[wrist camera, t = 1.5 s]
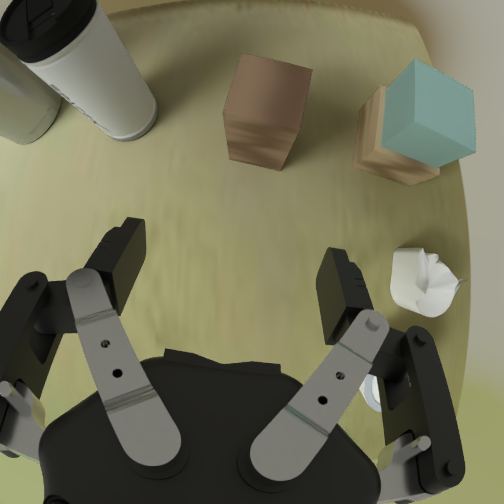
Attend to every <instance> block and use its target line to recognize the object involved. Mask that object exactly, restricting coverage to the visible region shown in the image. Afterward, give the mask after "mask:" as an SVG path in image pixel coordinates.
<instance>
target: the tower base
mask: <svg viewBox="0 0 504 504" xmlns="http://www.w3.org/2000/svg"><path fill="white" fill-rule="evenodd" d="M387 88H388V87H385V86H383V85H380V86H379V88H378V89H377V90H376V91H375V92H374V94H373V95H372V96H371V97H370V98H369V99H368V101H367V102H366V103H365V104H364V105H363V107H362V108H361V109H360V114H359V122H358V129H357V136H356V143H355V150H354V156H353V162H352V167H354V168H357V169H360V170H363V171H366V172H369V173H372V174H375V175H378V176H381V177H384V178H387V179H389V180H392V181H395V182H398V183H401V184H403V185H406V186H409V187H410V186H413V185H415V184H418V183H421V182H424V181H426V180H429V179H432V178H434V177H437V176H439V174H440V167H438V168H434V167H432V166H429V165H427V164H425V163H422V162H420V161H417V160H415V159H412V158H410V157H407V156H405V155H402V154H400V153H397V152H395V151H392V150H389V149H387V148H384V147H381V137H382V128H383V117H384V106H385V92H386V89H387Z"/></svg>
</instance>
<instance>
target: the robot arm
mask: <svg viewBox="0 0 504 504" xmlns="http://www.w3.org/2000/svg"><path fill="white" fill-rule="evenodd" d="M61 100H62V96H61V95H60V94H59V93H58V92H57V91H55V90H54V89H53V88H52V87H51V86H49V85H48V84H47V83H46V82H45V81H43V80H42V79H41V78H40V77H39V76H38V75H36V74H35V73H34V72H33V71H32V70H30V69H29V68H28V67H27V66H26V65H25V64H23V63H22V62H21V61H20V59H19V58H18V57H17V56H16V55H15V54H13V53H12V52H11V51H9V50H8V49H7V48H6V47H5V46H4V45H2V44H1V42H0V136H2V137H5V138H7V139H9V140H11V141H13V142H15V143H17V144H22V145H23V144H28V143H31V142H33V141H35V140H36V139H38V138H39V137H40V136H41V135H43V134H44V133H45V132H46V130H47V129H48V128H49V127H50V126H51V124H52V123H53V121H54V119H55V117H56V115H57V114H58V111H59V108H60V105H61ZM145 256H146V230H145V220H144V219H139V218H132V217H127V218H126V220H125V221H124V223H123V224H122V226H121V227H114V228H112V229H111V230H110V231H108V232H107V233H106V234H105V235H104V237H103V238H102V240H101V242H100V243H99V244H98V246H97V248H96V249H95V250H94V252H93V254H92V255H91V257H90V258H89V260H88V261H87V263H86V264H85V266H84V268H81V269H78V270H76V271H74V272H72V273H71V274H70V275H69V276H68V278H67V280H63V281H49V282H48V279H47V277H46V275H45V274H44V273H42V272H38V271H34V272H30V273H27V274H25V275H24V276H23V277H21V278H20V280H19V281H18V283H17V284H16V286H15V287H14V289H13V291H12V292H11V294H10V296H9V297H8V299H7V301H6V302H5V304H4V306H3V308H2V309H1V311H0V452H2V453H3V454H5V455H6V456H8V457H11V458H17V457H19V456H22V457H24V458H26V459H29V460H31V461H33V462H36V463H38V464H40V466H41V470H42V475H43V481H44V501H43V504H382V503H389V502H395V503H397V504H408V503H412V502H415V501H420V500H423V499H426V498H429V497H432V496H434V495H437V494H439V493H441V492H442V491H444V490H447V489H449V488H452V487H454V486H456V485H458V484H459V483H460V482H461V481H462V479H463V477H464V474H465V461H464V456H463V450H462V444H461V439H460V435H459V430H458V425H457V421H456V416H455V412H454V408H453V404H452V400H451V396H450V392H449V389H448V385H447V381H446V378H445V374H444V371H443V368H442V364H441V361H440V358H439V355H438V352H437V349H436V346H435V343H434V340H433V338H432V336H431V334H430V333H429V332H428V331H427V330H425V329H424V328H422V327H419V326H412V327H410V328H409V329H408V330H407V331H406V333H404V332H401V331H398V330H396V329H393V328H390V327H389V323H388V321H387V320H386V318H385V317H384V316H383V315H382V314H380V313H379V312H377V311H374V308H373V305H372V302H371V299H370V296H369V293H368V290H367V288H366V284H365V281H364V278H363V275H362V273H361V270H360V269H359V268H358V267H357V265H356V264H355V263H354V262H349V259H348V256H347V253H346V251H345V250H343V249H337V248H331V247H329V248H328V249H327V250H326V253H325V255H324V258H323V261H322V263H321V266H320V268H319V271H318V274H317V278H316V290H317V296H318V302H319V308H320V314H321V320H322V326H323V333H324V339H325V345H334V347H333V348H332V350H331V351H330V352H329V354H328V355H327V356H326V358H325V359H324V360H323V362H322V363H321V364H320V365H319V367H318V368H317V369H316V370H315V372H314V373H313V374H312V375H311V377H310V378H309V379H308V380H307V382H306V383H305V384H304V385H303V384H302V383H300V382H299V381H297V380H296V379H294V378H292V377H291V376H288V375H286V374H284V373H281V366H280V364H273V363H263V362H254V361H251V362H242V363H231V364H220V363H218V362H215V361H212V360H210V359H207V358H204V357H202V356H199V355H197V354H194V353H189V352H183V351H177V350H172V349H166V348H165V352H164V356H162V357H153V358H149V359H145V360H143V361H140V362H139V360H138V358H137V356H136V354H135V352H134V350H133V348H132V346H131V344H130V341H129V339H128V337H127V335H126V333H125V331H124V328H123V326H122V324H121V322H120V319H119V317H118V316H121V313H122V311H123V308H124V306H125V304H126V301H127V299H128V297H129V294H130V292H131V290H132V287H133V285H134V283H135V280H136V278H137V276H138V274H139V272H140V269H141V267H142V265H143V263H144V260H145ZM64 333H78V335H79V338H80V341H81V345H82V348H83V351H84V354H85V357H86V360H87V363H88V365H89V368H90V371H91V374H92V376H93V379H94V382H95V384H96V387H97V389H98V390H97V391H96V392H95V393H93V394H92V395H90V396H89V397H87V398H86V399H85V400H83V401H82V402H80V403H79V404H77V405H76V406H74V407H73V408H72V409H70V410H69V411H67V412H66V413H64V414H63V415H61V416H60V417H58V418H57V419H56V420H54V421H53V422H51V423H50V424H49V425H48V426H47V427H46V428H45V423H44V421H45V409H44V406H43V405H42V403H41V402H40V401H39V400H40V397H41V393H42V390H43V387H44V384H45V382H46V379H47V376H48V373H49V370H50V367H51V365H52V362H53V359H54V357H55V354H56V351H57V349H58V346H59V344H60V341H61V339H62V336H63V334H64ZM367 374H370V375H373V376H376V378H377V384H378V391H379V397H380V404H381V412H382V419H383V427H384V436H385V445H386V446H385V447H384V448H383V449H382V450H381V452H380V453H379V456H378V463H377V468H376V466H375V464H374V463H373V462H372V461H371V460H370V458H369V457H368V456H367V455H366V454H365V453H364V452H363V451H362V450H361V449H360V448H359V447H358V446H357V444H356V443H355V442H354V441H353V440H352V439H351V438H350V437H349V436H348V435H347V433H346V432H345V431H344V430H343V429H342V428H341V427H340V426H339V424H338V423H337V422H338V421H339V419H340V418H341V416H342V415H343V413H344V412H345V410H346V408H347V407H348V405H349V404H350V402H351V401H352V399H353V397H354V396H355V394H356V393H357V391H358V389H359V388H360V386H361V384H362V383H363V381H364V379H365V378H366V376H367ZM408 377H409V378H408Z"/></svg>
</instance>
